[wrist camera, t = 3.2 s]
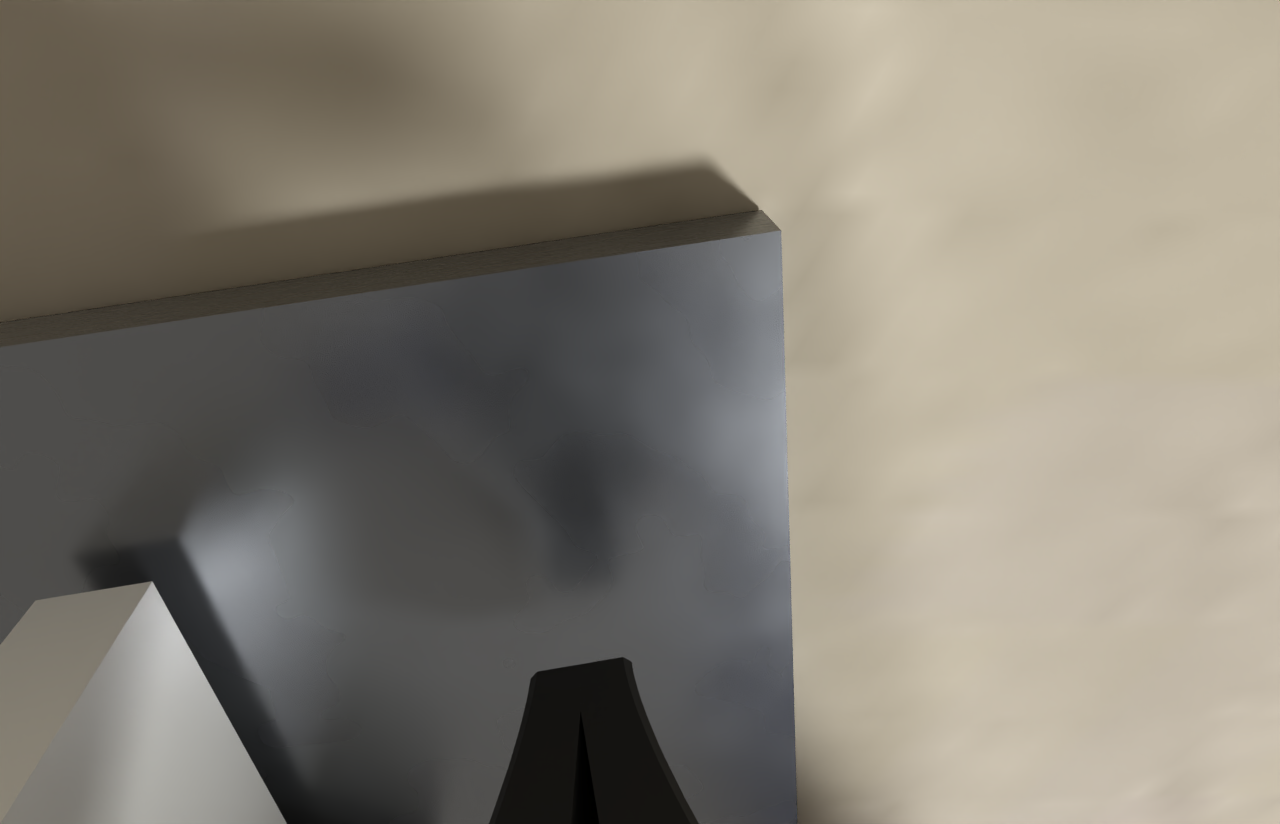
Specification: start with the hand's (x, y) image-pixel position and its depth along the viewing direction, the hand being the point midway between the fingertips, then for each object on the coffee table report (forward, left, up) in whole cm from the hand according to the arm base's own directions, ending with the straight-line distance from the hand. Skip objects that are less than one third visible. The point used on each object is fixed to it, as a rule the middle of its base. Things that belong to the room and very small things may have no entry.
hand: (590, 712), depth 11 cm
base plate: (-4, +6, -3) cm, 8 cm away
